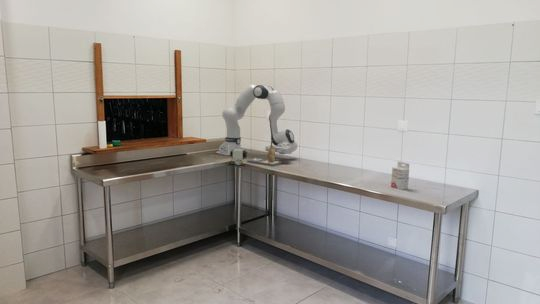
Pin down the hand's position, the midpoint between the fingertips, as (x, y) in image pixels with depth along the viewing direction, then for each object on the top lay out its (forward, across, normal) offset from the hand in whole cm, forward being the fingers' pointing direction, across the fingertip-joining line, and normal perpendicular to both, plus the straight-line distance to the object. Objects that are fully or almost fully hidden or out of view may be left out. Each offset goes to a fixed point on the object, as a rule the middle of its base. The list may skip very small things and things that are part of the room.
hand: (271, 150), depth 301 cm
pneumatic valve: (+18, -16, +10) cm, 26 cm away
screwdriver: (0, 0, +9) cm, 9 cm away
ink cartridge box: (+9, +99, +10) cm, 100 cm away
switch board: (0, -6, +10) cm, 12 cm away
